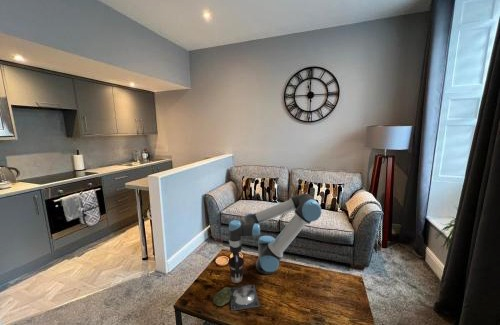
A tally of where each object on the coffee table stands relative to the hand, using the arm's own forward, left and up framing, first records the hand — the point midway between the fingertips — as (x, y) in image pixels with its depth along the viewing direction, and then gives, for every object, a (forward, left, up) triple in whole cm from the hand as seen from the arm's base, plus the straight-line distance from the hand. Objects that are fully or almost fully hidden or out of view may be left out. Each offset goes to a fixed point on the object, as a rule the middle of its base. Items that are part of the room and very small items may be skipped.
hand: (236, 276), depth 139 cm
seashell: (+10, +13, -4) cm, 17 cm away
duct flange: (-3, +14, -4) cm, 15 cm away
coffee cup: (0, 0, -2) cm, 2 cm away
